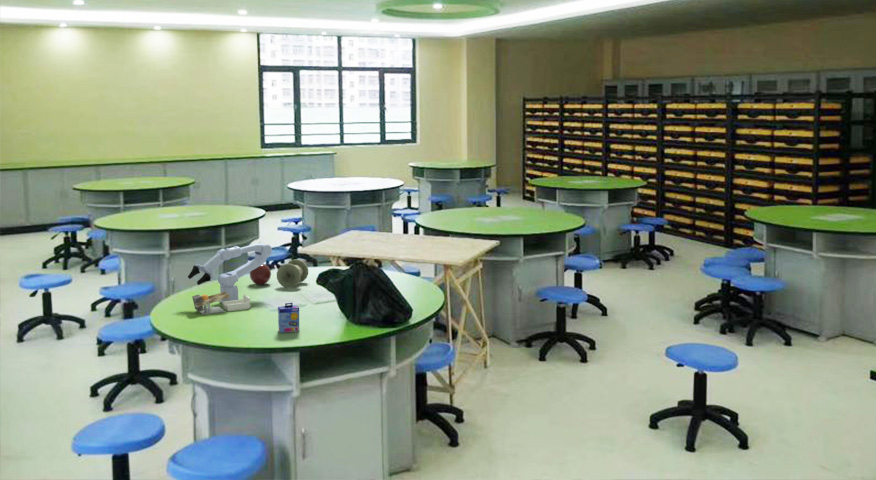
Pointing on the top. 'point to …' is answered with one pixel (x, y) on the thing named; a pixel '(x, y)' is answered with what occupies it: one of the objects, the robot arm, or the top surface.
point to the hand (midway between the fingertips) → (193, 280)
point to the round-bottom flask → (260, 274)
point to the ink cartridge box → (288, 318)
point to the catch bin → (237, 304)
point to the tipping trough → (213, 298)
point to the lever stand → (211, 310)
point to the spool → (292, 273)
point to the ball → (204, 297)
